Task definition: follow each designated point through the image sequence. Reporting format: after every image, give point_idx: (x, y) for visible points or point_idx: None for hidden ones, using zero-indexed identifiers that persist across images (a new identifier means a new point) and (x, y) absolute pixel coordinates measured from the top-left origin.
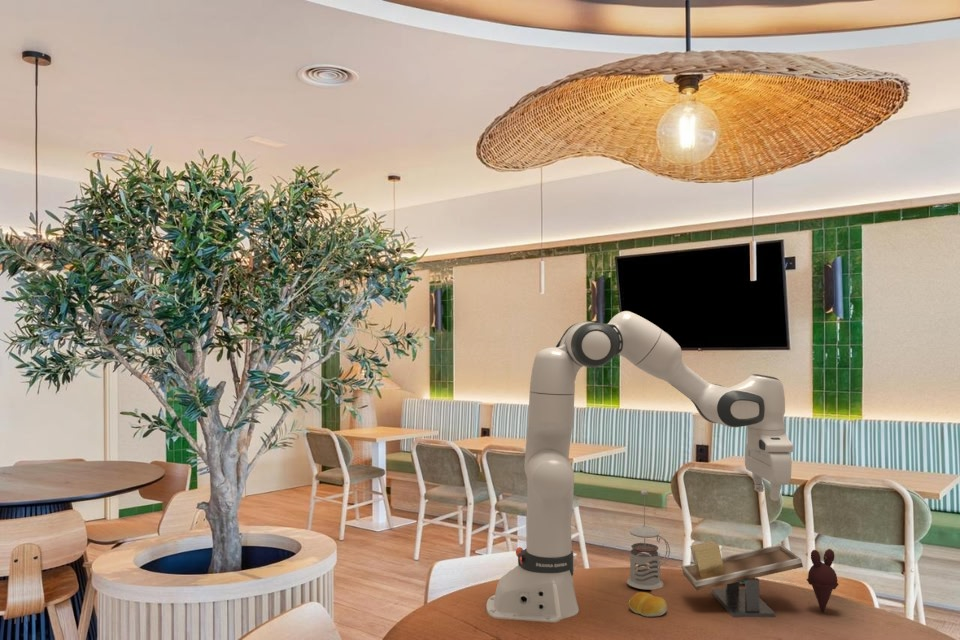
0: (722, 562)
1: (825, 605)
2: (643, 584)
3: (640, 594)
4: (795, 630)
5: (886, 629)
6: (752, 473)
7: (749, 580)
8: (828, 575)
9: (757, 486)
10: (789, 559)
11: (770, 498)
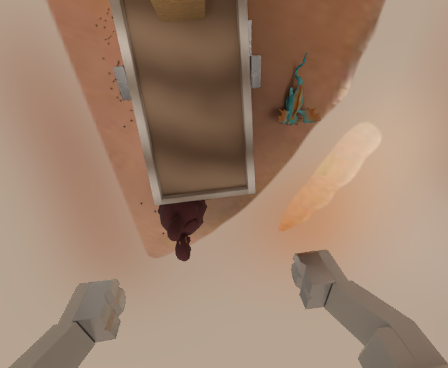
0: (154, 8)
1: None
2: None
3: None
4: (101, 130)
5: (143, 230)
6: (430, 348)
7: (115, 75)
8: (162, 223)
9: (308, 279)
10: (186, 186)
11: (93, 284)
